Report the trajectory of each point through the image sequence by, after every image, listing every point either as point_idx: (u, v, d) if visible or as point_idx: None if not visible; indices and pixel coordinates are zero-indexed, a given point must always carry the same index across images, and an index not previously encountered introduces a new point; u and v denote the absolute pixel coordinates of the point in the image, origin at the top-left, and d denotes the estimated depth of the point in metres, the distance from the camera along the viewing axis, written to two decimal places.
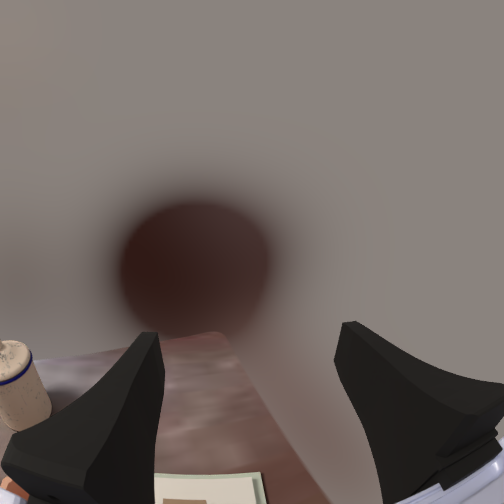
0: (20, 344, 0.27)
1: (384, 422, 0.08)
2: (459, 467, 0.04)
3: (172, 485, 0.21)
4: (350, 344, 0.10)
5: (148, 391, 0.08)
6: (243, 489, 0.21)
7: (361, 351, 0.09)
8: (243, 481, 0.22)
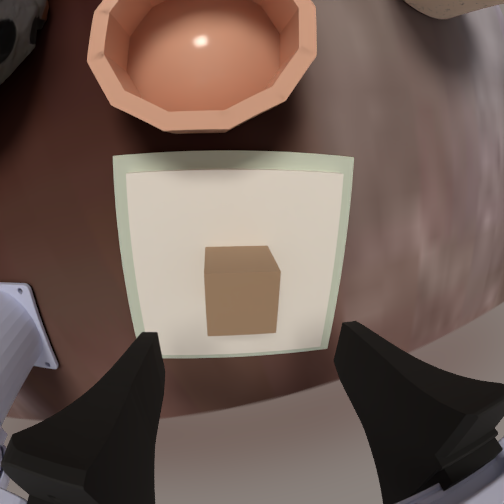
0: None
1: (384, 422, 0.08)
2: (459, 467, 0.04)
3: (322, 245, 0.17)
4: (350, 344, 0.10)
5: (148, 391, 0.08)
6: (301, 338, 0.20)
7: (361, 351, 0.09)
8: (315, 338, 0.20)
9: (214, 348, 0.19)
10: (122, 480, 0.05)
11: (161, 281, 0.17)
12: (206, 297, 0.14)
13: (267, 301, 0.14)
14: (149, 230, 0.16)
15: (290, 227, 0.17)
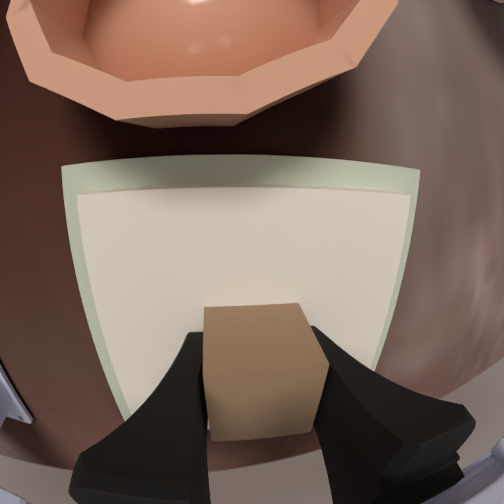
0: None
1: (334, 435, 0.07)
2: (406, 495, 0.04)
3: (374, 297, 0.11)
4: None
5: (203, 392, 0.08)
6: None
7: None
8: None
9: None
10: (200, 486, 0.05)
11: (141, 351, 0.11)
12: (208, 403, 0.08)
13: (304, 401, 0.08)
14: (118, 282, 0.10)
15: (333, 275, 0.11)
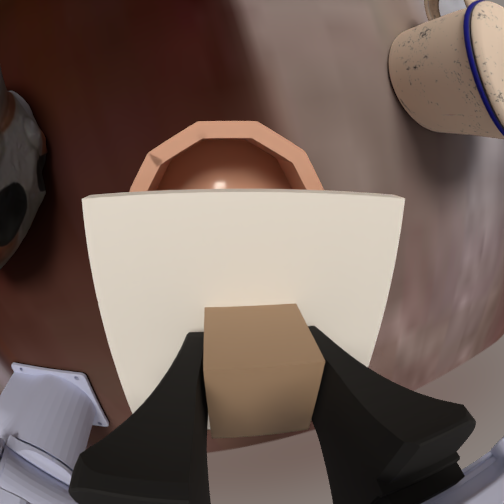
0: None
1: (334, 435, 0.07)
2: (405, 495, 0.04)
3: (370, 298, 0.12)
4: None
5: (203, 392, 0.08)
6: None
7: None
8: None
9: None
10: (199, 486, 0.05)
11: (144, 351, 0.11)
12: (208, 399, 0.08)
13: (301, 398, 0.09)
14: (121, 284, 0.10)
15: (329, 277, 0.11)
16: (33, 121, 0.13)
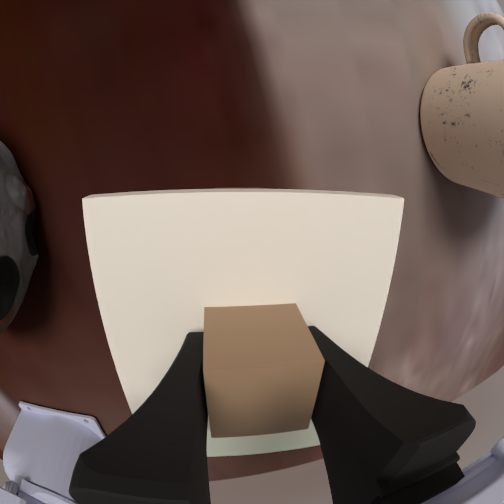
0: None
1: (334, 435, 0.07)
2: (406, 495, 0.04)
3: (369, 298, 0.12)
4: None
5: (203, 392, 0.08)
6: None
7: None
8: None
9: None
10: (199, 486, 0.05)
11: (143, 350, 0.11)
12: (208, 398, 0.08)
13: (301, 397, 0.09)
14: (121, 283, 0.10)
15: (329, 277, 0.11)
16: (16, 177, 0.12)
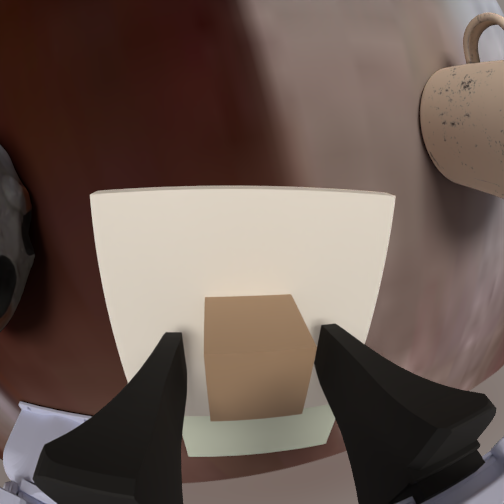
0: None
1: (360, 429, 0.07)
2: (434, 481, 0.04)
3: (362, 290, 0.12)
4: (328, 347, 0.10)
5: (176, 392, 0.08)
6: None
7: (338, 355, 0.09)
8: None
9: None
10: (160, 484, 0.05)
11: (146, 339, 0.12)
12: (208, 382, 0.09)
13: (295, 382, 0.09)
14: (126, 274, 0.11)
15: (323, 269, 0.12)
16: (12, 177, 0.12)
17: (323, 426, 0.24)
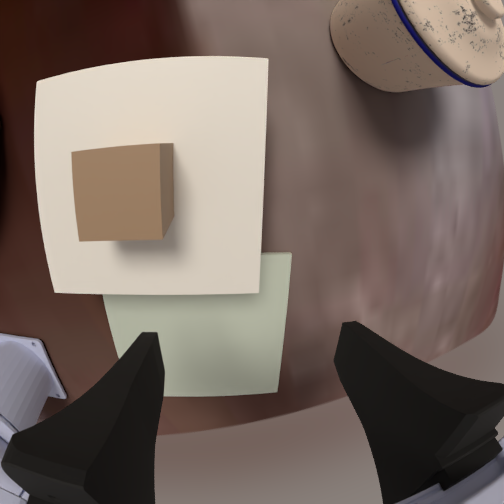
0: None
1: (384, 422, 0.08)
2: (459, 467, 0.04)
3: (245, 143, 0.13)
4: (350, 344, 0.10)
5: (148, 391, 0.08)
6: (230, 277, 0.15)
7: (361, 351, 0.09)
8: (249, 279, 0.15)
9: (121, 286, 0.15)
10: (122, 480, 0.05)
11: (59, 195, 0.13)
12: (74, 183, 0.09)
13: (145, 187, 0.10)
14: (51, 135, 0.11)
15: (201, 119, 0.12)
16: None
17: (269, 365, 0.24)
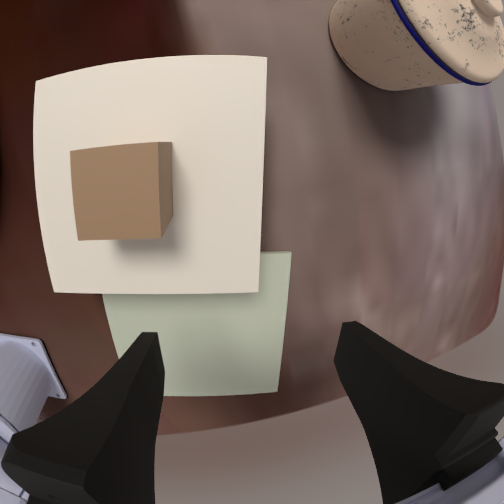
0: None
1: (384, 422, 0.08)
2: (459, 467, 0.04)
3: (244, 142, 0.13)
4: (350, 344, 0.10)
5: (148, 391, 0.08)
6: (229, 276, 0.15)
7: (361, 351, 0.09)
8: (249, 278, 0.15)
9: (120, 285, 0.15)
10: (122, 480, 0.05)
11: (58, 194, 0.12)
12: (72, 182, 0.09)
13: (144, 186, 0.10)
14: (50, 135, 0.11)
15: (200, 118, 0.12)
16: None
17: (269, 365, 0.24)
